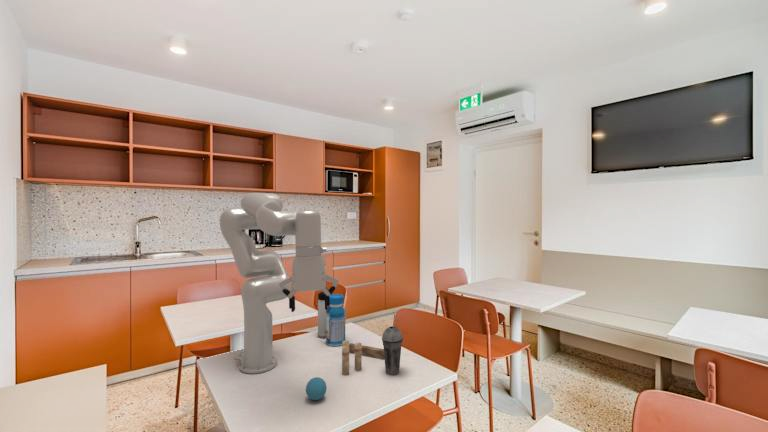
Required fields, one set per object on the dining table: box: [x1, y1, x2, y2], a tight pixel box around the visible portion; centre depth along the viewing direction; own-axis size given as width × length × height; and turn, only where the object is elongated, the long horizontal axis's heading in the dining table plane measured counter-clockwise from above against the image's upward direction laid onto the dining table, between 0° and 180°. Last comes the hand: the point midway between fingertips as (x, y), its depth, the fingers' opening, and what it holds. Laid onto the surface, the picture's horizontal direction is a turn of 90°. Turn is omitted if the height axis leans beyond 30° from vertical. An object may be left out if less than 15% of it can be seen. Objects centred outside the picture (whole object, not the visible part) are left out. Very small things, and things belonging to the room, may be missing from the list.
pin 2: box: [354, 342, 363, 372], centre depth 117 cm, size 2×2×9 cm
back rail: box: [349, 342, 385, 361], centre depth 129 cm, size 16×2×3 cm, turn 66°
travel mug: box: [317, 291, 334, 339], centre depth 149 cm, size 6×7×20 cm
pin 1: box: [341, 340, 350, 348], centre depth 119 cm, size 2×2×9 cm
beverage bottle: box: [325, 293, 347, 347], centre depth 141 cm, size 8×8×20 cm
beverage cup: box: [381, 313, 404, 376], centre depth 115 cm, size 7×7×20 cm
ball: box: [305, 377, 328, 401], centre depth 98 cm, size 6×6×6 cm
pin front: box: [341, 346, 350, 376], centre depth 114 cm, size 2×2×9 cm
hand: (309, 309), depth 99 cm, fingers open, 9 cm apart
